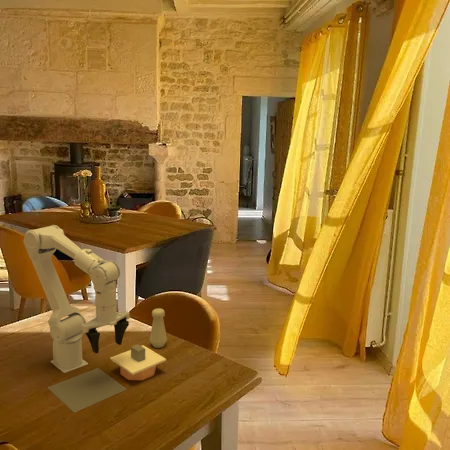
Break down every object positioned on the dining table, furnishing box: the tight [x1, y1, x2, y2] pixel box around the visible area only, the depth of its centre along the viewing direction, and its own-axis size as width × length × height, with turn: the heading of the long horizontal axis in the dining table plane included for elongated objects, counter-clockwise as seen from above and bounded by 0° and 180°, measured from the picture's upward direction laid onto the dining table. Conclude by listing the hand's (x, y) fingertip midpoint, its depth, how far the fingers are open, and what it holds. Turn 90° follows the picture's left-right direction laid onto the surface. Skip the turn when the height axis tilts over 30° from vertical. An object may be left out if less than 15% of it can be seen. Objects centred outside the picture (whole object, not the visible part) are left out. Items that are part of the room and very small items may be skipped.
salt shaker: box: [149, 307, 168, 349], centre depth 155 cm, size 6×6×13 cm
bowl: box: [119, 365, 157, 381], centre depth 138 cm, size 10×10×4 cm
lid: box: [109, 343, 167, 375], centre depth 137 cm, size 12×12×4 cm
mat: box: [46, 367, 128, 414], centre depth 129 cm, size 16×16×1 cm
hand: (107, 347), depth 133 cm, fingers open, 7 cm apart
